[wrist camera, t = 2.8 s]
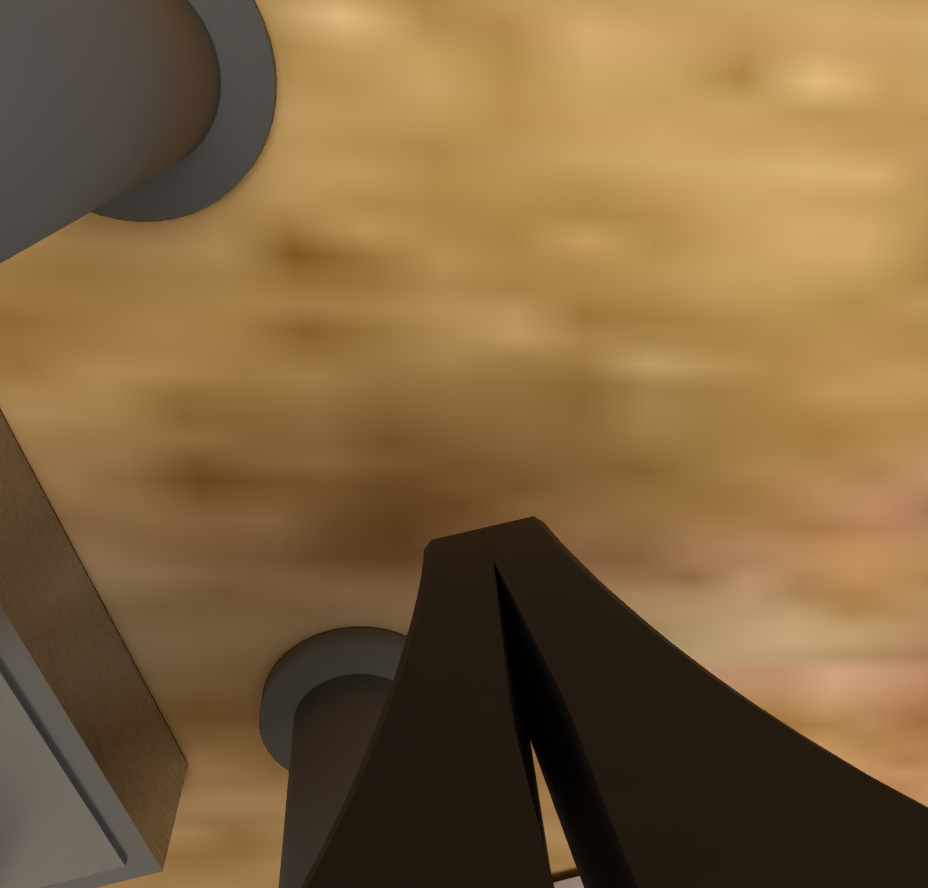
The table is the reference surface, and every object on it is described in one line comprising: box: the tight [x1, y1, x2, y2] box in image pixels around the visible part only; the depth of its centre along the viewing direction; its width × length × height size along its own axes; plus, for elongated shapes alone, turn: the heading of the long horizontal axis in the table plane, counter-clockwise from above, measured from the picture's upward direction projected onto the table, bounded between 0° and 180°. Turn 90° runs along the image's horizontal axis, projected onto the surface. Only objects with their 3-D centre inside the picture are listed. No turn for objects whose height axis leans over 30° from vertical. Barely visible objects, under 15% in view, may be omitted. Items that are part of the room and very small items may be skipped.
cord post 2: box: [259, 628, 407, 888], centre depth 14 cm, size 4×4×7 cm
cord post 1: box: [0, 0, 277, 263], centre depth 8 cm, size 4×4×7 cm
